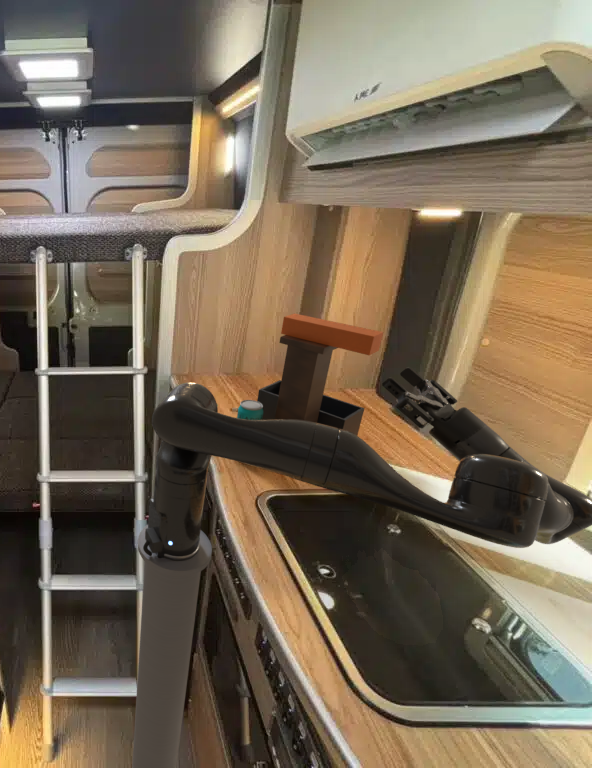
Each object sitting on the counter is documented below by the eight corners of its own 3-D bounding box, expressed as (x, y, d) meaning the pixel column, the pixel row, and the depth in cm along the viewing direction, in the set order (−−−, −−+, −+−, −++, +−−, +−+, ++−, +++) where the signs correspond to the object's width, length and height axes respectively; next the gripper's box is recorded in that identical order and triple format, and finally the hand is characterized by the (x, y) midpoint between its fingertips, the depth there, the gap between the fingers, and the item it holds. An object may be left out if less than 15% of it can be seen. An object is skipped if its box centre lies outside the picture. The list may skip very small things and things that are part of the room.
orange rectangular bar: (378, 350, 96) (383, 332, 94) (369, 355, 93) (374, 336, 92) (291, 329, 110) (294, 313, 108) (280, 333, 107) (283, 316, 106)
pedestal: (316, 462, 116) (344, 339, 103) (297, 475, 111) (324, 347, 98) (279, 446, 123) (301, 329, 110) (259, 457, 118) (280, 336, 105)
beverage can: (232, 462, 116) (239, 408, 110) (231, 450, 121) (238, 398, 115) (256, 465, 115) (265, 410, 109) (254, 452, 120) (262, 400, 114)
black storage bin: (353, 451, 120) (364, 408, 115) (333, 465, 114) (345, 420, 109) (272, 419, 137) (279, 380, 132) (252, 430, 131) (258, 389, 126)
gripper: (498, 415, 87) (424, 354, 94) (473, 439, 79) (395, 371, 86) (462, 437, 92) (395, 378, 99) (436, 462, 84) (365, 396, 91)
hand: (395, 375), depth 93 cm, fingers open, 8 cm apart
